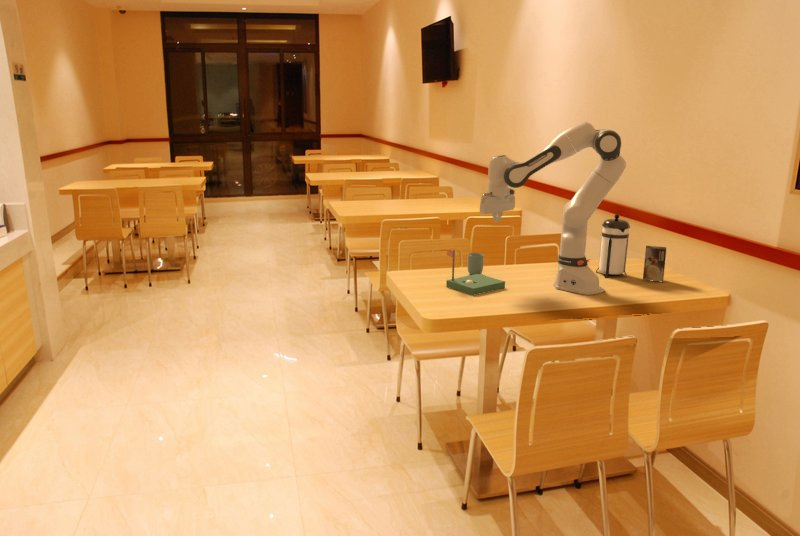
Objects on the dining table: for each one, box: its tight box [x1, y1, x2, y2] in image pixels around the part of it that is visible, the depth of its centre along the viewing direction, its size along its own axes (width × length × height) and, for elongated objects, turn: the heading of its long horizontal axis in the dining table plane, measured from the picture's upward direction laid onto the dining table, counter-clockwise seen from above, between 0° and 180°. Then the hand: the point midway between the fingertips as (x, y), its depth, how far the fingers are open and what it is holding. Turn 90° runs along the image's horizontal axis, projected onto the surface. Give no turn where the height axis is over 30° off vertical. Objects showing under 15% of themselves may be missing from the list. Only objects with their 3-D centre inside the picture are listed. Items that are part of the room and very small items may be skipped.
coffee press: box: [595, 214, 631, 279], centre depth 301 cm, size 17×16×30 cm
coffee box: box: [642, 245, 667, 282], centre depth 292 cm, size 9×6×16 cm
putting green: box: [445, 248, 506, 296], centre depth 277 cm, size 19×20×17 cm
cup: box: [466, 252, 485, 275], centre depth 299 cm, size 8×8×10 cm
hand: (497, 221), depth 283 cm, fingers closed
